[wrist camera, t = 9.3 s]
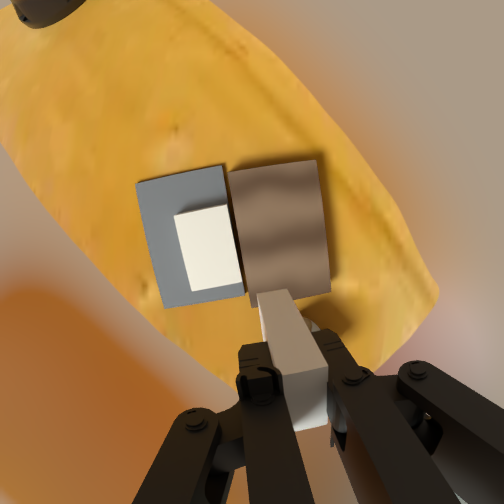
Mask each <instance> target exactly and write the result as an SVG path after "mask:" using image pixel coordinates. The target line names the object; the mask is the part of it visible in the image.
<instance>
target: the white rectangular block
mask: <svg viewBox="0 0 504 504" xmlns="http://www.w3.org/2000/svg"><path fill="white" fill-rule="evenodd" d="M174 220H175V225H176V229H177V233H178V238H179V242H180V246H181V251H182V255H183V259H184V263H185V267H186V271H187V275H188V279H189V283H190V287H191V290H192V291H197V290H203V289H208V288H213V287H219V286H224V285H229V284H234V283H239V282H242V277H241V272H240V267H239V262H238V257H237V252H236V247H235V242H234V237H233V232H232V227H231V222H230V217H229V212H228V207H227V203H226V204H221V205H216V206H211V207H206V208H202V209H197V210H192V211H187V212H183V213H178V214H176V215H174Z"/></svg>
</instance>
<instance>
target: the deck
mask: <svg viewBox="0 0 504 504" xmlns="http://www.w3.org/2000/svg"><path fill="white" fill-rule="evenodd" d="M227 174H228V179H229V185H230V191H231V197H232V202H233V208H234V214H235V220H236V225H237V231H238V236H239V242H240V248H241V253H242V259H243V264H244V270H245V275H246V281H247V286H248V292H249V297H250V302H251V308H255V307H258V300H257V294H258V293H264V292H270V291H276V290H282V289H287V290H288V292H289V294H290V295H291V297H292V299H293V300H296V299H301V298H306V297H310V296H315V295H320V294H324V293H329V292H331V282H330V270H329V258H328V248H327V238H326V229H325V221H324V212H323V204H322V197H321V189H320V182H319V175H318V169H317V162H316V160H309V161H300V162H292V163H285V164H278V165H271V166H264V167H257V168H251V169H245V170H239V171H233V172H227Z"/></svg>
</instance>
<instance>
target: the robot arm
mask: <svg viewBox="0 0 504 504" xmlns="http://www.w3.org/2000/svg"><path fill="white" fill-rule="evenodd" d="M84 1H85V0H11V2H12V4H13V6H14V9H15V11H16V13H17V15H18V17H19V19H20V21H21V22H22V23H24V24H25V25H27V26H28V27H30V28H33V29H39V28H44V27H47V26H50V25H52V24H54V23H56V22H58V21H59V20H61V19H63V18H64V17H66V16H67V15H69V14H70V13H71V12H73V11H74V10H75V9H76V8H77V7H79V6H80V5H81V4H82V3H83V2H84ZM257 300H258V307H259V314H260V321H261V328H262V335H263V341H264V342H259V343H253V344H246V345H242V347H241V349H240V350H239V352H238V358H239V371H240V373H239V374H238V375H237V377H236V386H237V390H238V395H239V401H238V402H237V403H236V404H235V405H234V406H233V407H231V408H230V409H227V410H225V411H222V412H220V413H217V414H216V413H214V412H213V411H211V410H210V409H206V408H192V409H189V410H186V411H184V412H183V413H181V414H179V415H178V417H177V418H176V419H175V421H174V423H173V425H172V426H171V428H170V430H169V432H168V434H167V436H166V438H165V440H164V442H163V444H162V446H161V448H160V450H159V452H158V454H157V456H156V458H155V460H154V462H153V464H152V465H151V468H150V469H149V471H148V473H147V475H146V477H145V479H144V481H143V483H142V485H141V487H140V489H139V491H138V493H137V495H136V497H135V498H134V501H133V502H132V504H226V501H227V497H228V493H229V490H230V486H231V483H232V479H233V475H234V470H235V469H238V468H240V467H243V466H246V473H247V482H248V492H249V502H250V504H315V503H314V499H313V495H312V492H311V488H310V485H309V481H308V478H307V474H306V471H305V467H304V464H303V460H302V457H301V453H300V449H299V446H298V442H297V439H296V435H295V431H300V430H304V429H309V428H313V427H318V426H322V425H326V424H327V417H329V419H330V422H331V438H330V445H331V447H334V443H335V445H336V447H337V450H338V453H339V455H340V458H341V460H342V462H343V465H344V468H345V470H346V473H347V475H348V478H349V480H350V483H351V485H352V488H353V491H354V493H355V495H356V498H357V501H358V503H359V504H461V503H460V501H459V499H458V498H457V496H456V495H455V493H456V494H457V495H458V496H460V497H461V498H462V499H463V500H464V501H465V502H467V503H468V504H504V409H502V408H501V407H499V406H498V405H496V404H494V403H493V402H491V401H489V400H488V399H486V398H485V397H483V396H482V395H480V394H478V393H477V392H475V391H474V390H472V389H470V388H469V387H467V386H466V385H464V384H462V383H461V382H459V381H457V380H456V379H454V378H453V377H451V376H450V375H448V374H446V373H445V372H443V371H442V370H440V369H438V368H437V367H435V366H433V365H432V364H430V363H427V362H425V361H419V360H416V361H410V362H407V363H404V364H403V365H402V366H401V367H400V369H399V371H398V375H388V376H376V375H374V374H373V372H371V371H370V370H369V369H368V368H365V367H362V366H358V364H357V363H356V361H355V360H354V358H353V357H352V355H351V354H350V353H349V351H348V350H347V348H346V347H345V345H344V344H343V342H341V339H340V338H339V336H338V335H337V334H336V333H335V332H333V331H331V330H329V329H324V330H319V331H314V332H310V331H309V329H308V327H307V325H306V323H305V321H304V319H303V318H302V316H301V314H300V312H299V310H298V308H297V306H296V305H295V303H294V301H293V299H292V297H291V295H290V294H289V292H288V290H287V289H282V290H276V291H270V292H264V293H258V294H257ZM426 413H427V414H428V415H430V416H428V415H427V414H426ZM453 491H454V492H455V493H454V492H453Z"/></svg>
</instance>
